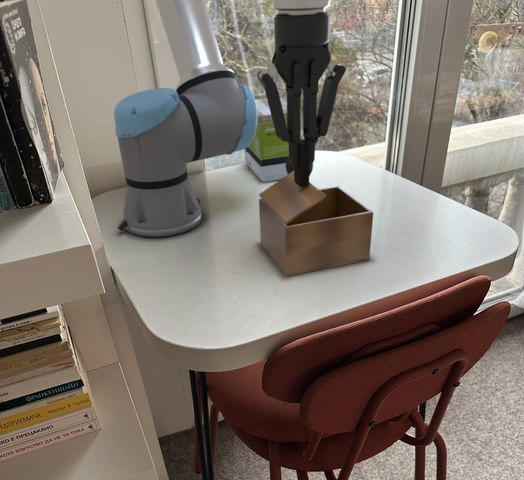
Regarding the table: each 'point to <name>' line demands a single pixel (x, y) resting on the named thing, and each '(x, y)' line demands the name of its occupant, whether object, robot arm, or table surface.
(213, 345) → the table surface
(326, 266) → the carton
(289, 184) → the flap
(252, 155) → the tea box
